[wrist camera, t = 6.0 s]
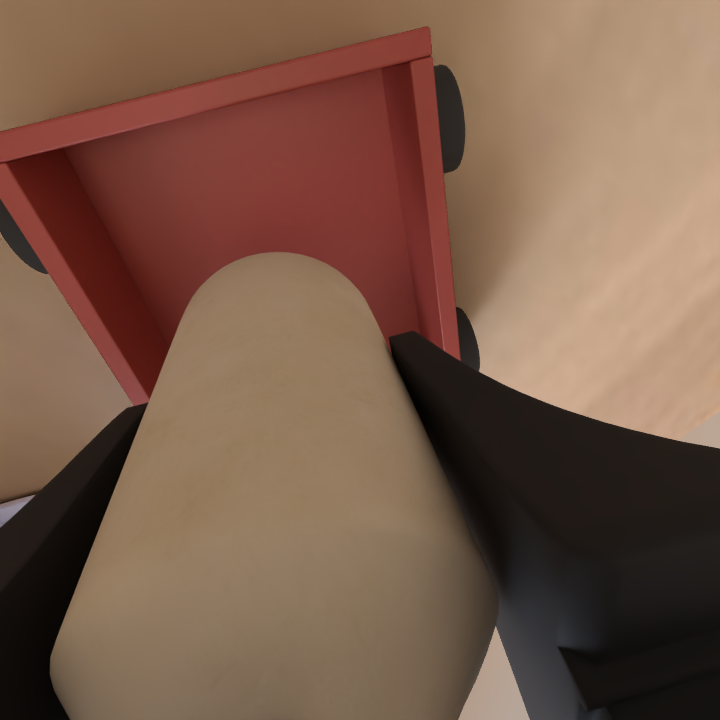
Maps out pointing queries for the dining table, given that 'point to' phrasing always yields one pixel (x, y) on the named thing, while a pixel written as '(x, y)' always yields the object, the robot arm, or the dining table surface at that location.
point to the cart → (242, 195)
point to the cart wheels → (451, 159)
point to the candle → (278, 527)
